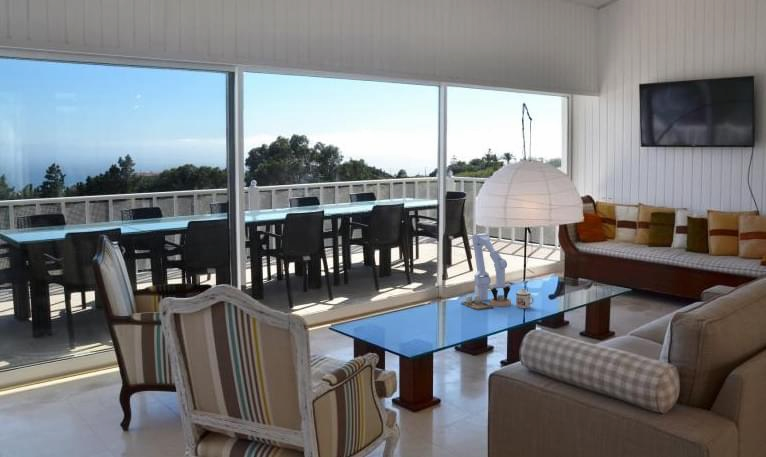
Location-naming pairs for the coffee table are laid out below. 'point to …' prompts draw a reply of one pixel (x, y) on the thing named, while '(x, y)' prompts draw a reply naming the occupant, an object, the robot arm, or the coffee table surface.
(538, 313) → the coffee table surface
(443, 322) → the coffee table surface
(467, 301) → the light stone
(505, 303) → the bowl
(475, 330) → the coffee table surface
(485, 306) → the tray
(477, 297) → the light stone
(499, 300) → the grey rounded cylinder
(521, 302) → the teacup with lid
